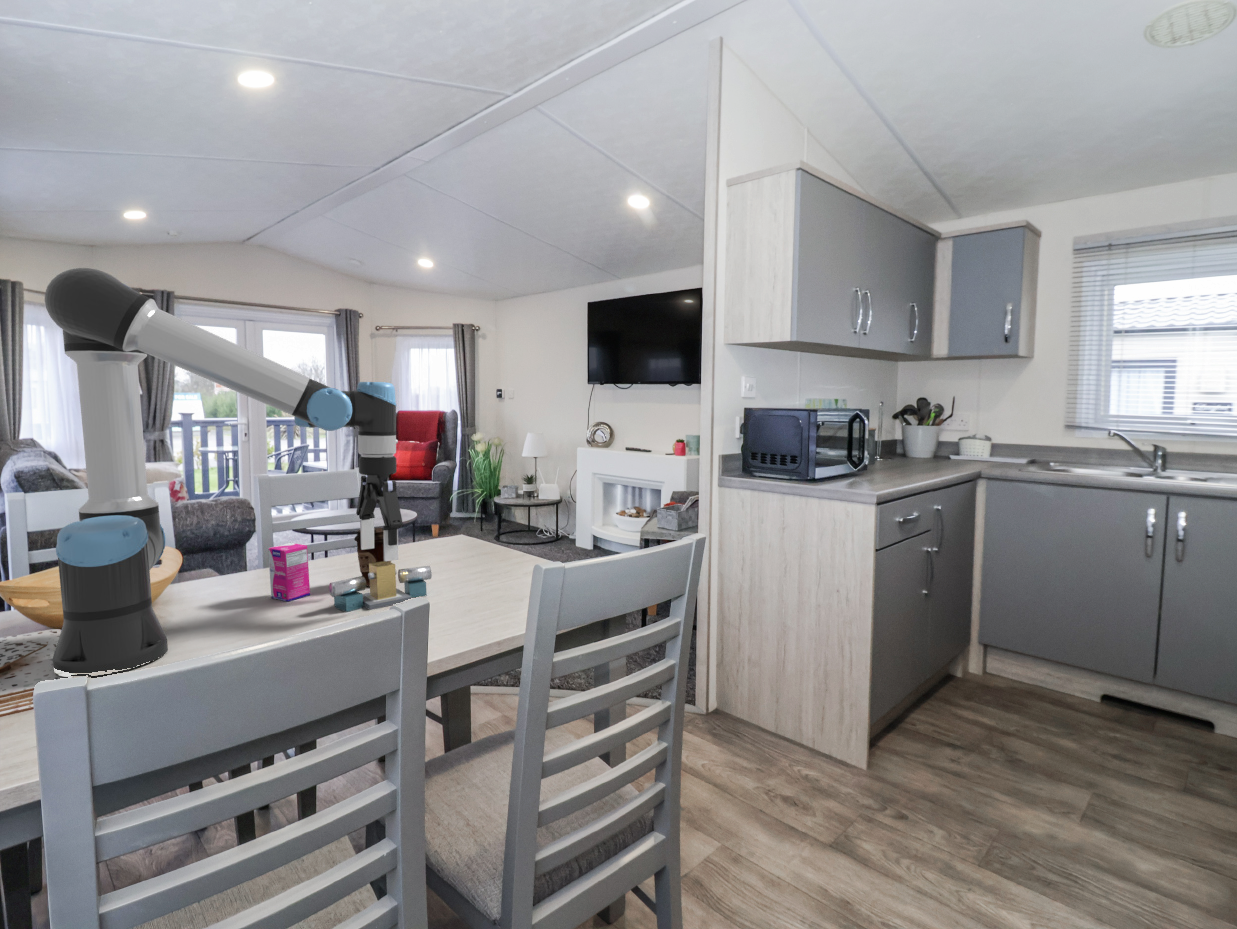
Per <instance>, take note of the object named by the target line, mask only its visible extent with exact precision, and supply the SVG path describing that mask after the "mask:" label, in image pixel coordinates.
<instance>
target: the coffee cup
mask: <svg viewBox="0 0 1237 929" xmlns="http://www.w3.org/2000/svg"><path fill="white" fill-rule="evenodd" d="M382 529H383V527H378V528H375V527H374V548H372V549H364V550H362V549H361V529H358V532H357V534H356V536H355V537H354V541H355V542H356V546H357V548H356V550H357V557H358V565H359V571H360V573H361V576H363V577H364V578H365V580H366V587H370V580H369V578H368V573H369V564H370V563H376V562H382V561H384V531H383V530H382ZM389 562H391V563H392V561H389Z"/></svg>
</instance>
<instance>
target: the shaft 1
mask: <svg viewBox="0 0 1237 929" xmlns="http://www.w3.org/2000/svg"><path fill="white" fill-rule="evenodd" d="M366 589H367V586H366V580H365V578H364V577H363V576H362V575H360V576H359V575H358V576H356V577H351V578H347V579H343V580H338V581H334V582H330V583H329V585H328V591H329V594H330V596H331V597H332V598H333V602H334V608H336V609H339V610H340V611H343V612H345V613H348V612H352V611H356V610H360V609H363V608H364V606H363V594H364V593H361V591H364V590H366Z"/></svg>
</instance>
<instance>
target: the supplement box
mask: <svg viewBox="0 0 1237 929" xmlns="http://www.w3.org/2000/svg"><path fill="white" fill-rule="evenodd" d="M267 550H268V551H267V552H268V566H269V582H270V597H271V599H276V600H280V601H284V602H288V603H289V602H293V601H295V600H299V599H304V598H306V597H310V596H311V588H310V586H311V585H310V572H309V570H310V569H309V554H308V545H306V544H301V543H293V542H288V543H287V542H286V543H284V544H280V545H276V546H272V547H268V548H267Z"/></svg>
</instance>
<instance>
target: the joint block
mask: <svg viewBox="0 0 1237 929" xmlns="http://www.w3.org/2000/svg"><path fill="white" fill-rule="evenodd" d="M396 575H397V569H396V564H395V563H393V562H392V561H391V562H389V561H382V562H376V563H370V564H369V573H368V578H369V580H370V586H369V591H370V592H369V593H370V595H371V596H372V597H374V598H375V599H377V600H380V599H385V598H390V597H395V596H396V588H397V577H396Z"/></svg>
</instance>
